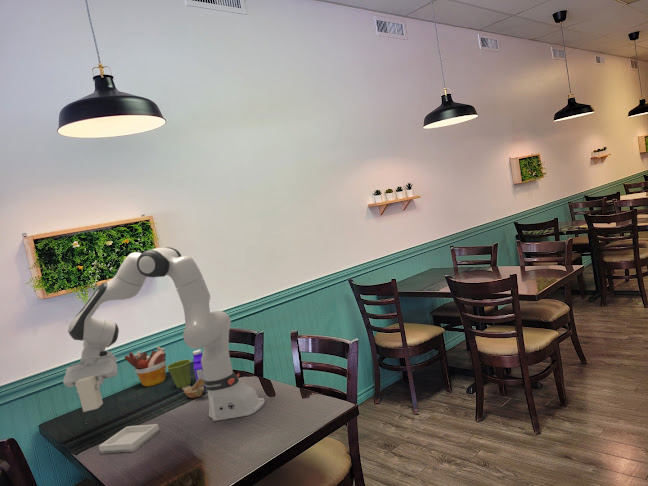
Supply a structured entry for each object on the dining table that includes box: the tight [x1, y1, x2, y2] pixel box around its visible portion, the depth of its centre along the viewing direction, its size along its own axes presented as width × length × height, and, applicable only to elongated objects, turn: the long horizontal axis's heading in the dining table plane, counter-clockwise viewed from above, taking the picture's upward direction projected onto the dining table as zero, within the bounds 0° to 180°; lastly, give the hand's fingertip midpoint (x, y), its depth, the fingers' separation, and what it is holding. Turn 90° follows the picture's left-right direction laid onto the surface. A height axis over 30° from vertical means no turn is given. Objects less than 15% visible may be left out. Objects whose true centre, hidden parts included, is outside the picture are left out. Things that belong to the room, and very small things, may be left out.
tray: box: [98, 423, 161, 455], centre depth 182 cm, size 15×15×3 cm
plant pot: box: [166, 359, 192, 389], centre depth 242 cm, size 12×12×11 cm
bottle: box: [192, 349, 206, 388], centre depth 233 cm, size 7×6×17 cm
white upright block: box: [76, 375, 104, 413], centre depth 191 cm, size 6×6×12 cm
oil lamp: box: [181, 378, 205, 399], centre depth 221 cm, size 9×21×10 cm, turn 39°
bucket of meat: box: [124, 346, 167, 388], centre depth 258 cm, size 20×16×20 cm
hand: (88, 391), depth 190 cm, fingers closed on white upright block, 5 cm apart
